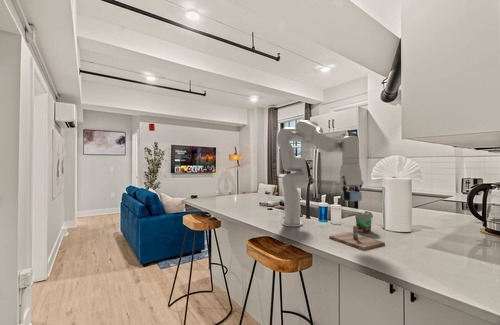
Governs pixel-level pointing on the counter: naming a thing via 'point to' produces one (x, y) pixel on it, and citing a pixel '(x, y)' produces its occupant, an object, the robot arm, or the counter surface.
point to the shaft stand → (357, 240)
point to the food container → (364, 222)
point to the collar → (353, 196)
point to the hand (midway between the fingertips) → (351, 199)
